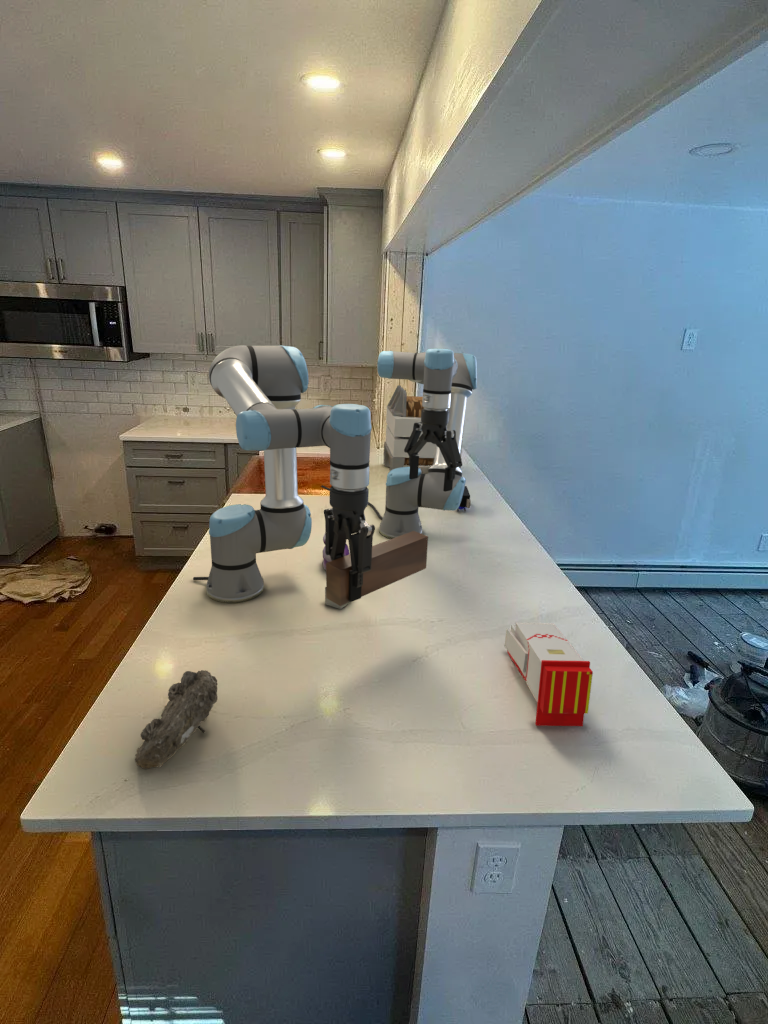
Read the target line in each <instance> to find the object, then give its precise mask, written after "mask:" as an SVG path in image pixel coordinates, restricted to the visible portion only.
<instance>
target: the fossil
mask: <svg viewBox="0 0 768 1024" xmlns="http://www.w3.org/2000/svg"><path fill="white" fill-rule="evenodd" d="M167 698H168V701H167V703H166V705H165V706H164V708H163V709H162V712H161V714H160V718H157V717H156V718H153V719H152V720H151V721H150V722H149V723H147V724H146V725H145V727H144V728H143V729H142V731H141V733H140V738H141V740H142V743H141V744H140V746H139V747H138V748H137V749H136V753H135V755H134V756H135V757H134V762H135V764H136V766H137V767H141V768H142V769H143V770H144V769H145V770H146V769H151V768H156V767H157V768H161V767H162V766H163V765H165V763H166V762H167V761H168V760H169V759H171V758H172V757H173V756H174V755H175V754H177V752H178V751H179V750H180V749H181V748H182V747H184V746H185V744H187V743H188V741H189V739H190V737H191V736H192V735H193V734H195V732H196V731H197V730H199V731H200V732H201V733H202V734H205V733H206V730H205V729H204V728H203V726H201V723H202V722H205V721H206V720H207V718H208V717H209V716H210V712H211V711H212V709H213V707H214V705H215V703H217V702H218V679H217V677H216V676H215V675H212V674H211V672H209V670H206V669H205V670H203V669H202V670H198V671H197V672H195V671H191V670H185V672H183V674H182V677H181V678H180V682H177V683H173V684H172V685H171V686H170V687H169V688H168V693H167Z"/></svg>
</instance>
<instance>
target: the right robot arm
mask: <svg viewBox="0 0 768 1024" xmlns="http://www.w3.org/2000/svg"><path fill="white" fill-rule="evenodd" d="M477 364H478V363H477V357H476V356H475V355H474V354H472V353H464V352H454V351H453V350H452V349H448V348H437V347H435V348H428V349H427V350H425V351H424V352H422V351H421V352H411V351H410V352H409V351H395V350H382V351H380V352H379V355H378V357H377V367H376V368H377V373H378V374H377V375H378V376H379V377H380V378H383V379H387V380H408V381H410V382H412V383H417V384H420V385H423V387H422V397H423V398H422V406H423V407H424V408H423V409H422V411H421V422H417V423H414V426H413V431H412V433H411V436H410V438H409V440H408V442H407V444H406V447H405V449H404V452H405V453H408V455H409V466H404V467H401V468H396V469H393V470H391V471H390V470H389V472H388V473H387V475H386V482H385V504H384V505H385V507H384V508H385V509H384V513H383V515H382V516H381V514H380V512H379V511H378V510H377V508H376V506H375V505H374V504H372V503H370V501H368V505H367V506H369V507H371V508H372V510H373V511H374V513H375V514H376V515H377V517H378V519H379V520H381V522H379V527H378V533H379V534H380V535H381V536H382V537H385V538H387V539H389V540H390V539H393V538H396V537H398V536H401V535H404V534H407V533H409V532H412V531H415V532H418V533H421V534H423V525H422V520H421V518H420V515H419V508H422V509H423V508H424V509H430V510H431V509H433V510H442V511H451V512H452V511H453V512H454V511H457V509H458V507H459V505H460V503H461V499H462V496H463V492H464V487H465V486H466V481H467V479H466V478H465V476H463V471H462V469H461V470H460V469H459V467H461V468H462V467H463V460H461V458H462V456H461V457H460V450H461V442H462V441H463V438H462V433H463V434H464V432H463V425H464V426H465V421H464V420H465V416H466V408H467V401H468V398H469V397H471V396H472V394H473V390H476V389H478V376H477V375H478V369H477V368H478V367H477V366H478V365H477ZM421 432H423V434H422V435H421V436H420V434H421ZM419 436H420V437H419ZM418 439H419V440H418ZM427 442H431V443H433V444H436V448H435V456H434V464H433V465H430V466H429V467H428V469H427V470H428V471H427V473H422V469H421V468H420V466H419V456H416V455H418V453H419V451H420V450H421V449H422V448H423V446H424V445H425V444H426V443H427ZM321 488H322V489H324V490H327V491H328V492H330V487H327V486H325V485H323V484H322V485H321Z"/></svg>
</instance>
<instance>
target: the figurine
mask: <svg viewBox="0 0 768 1024" xmlns="http://www.w3.org/2000/svg"><path fill="white" fill-rule="evenodd" d="M322 542H323V544H324V545H325V533H324V534H323V537H322ZM331 548H332V547H331ZM349 554H350V550H349V545H347V543H346V545H345V551H344V555H345V556H347V555H349ZM330 561H332V560H331V558H330V555H326V553H325V546H324V547H323V549H322V566H323V567H322V568H323V570H325V571H326V563H328V562H330Z"/></svg>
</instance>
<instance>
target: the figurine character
mask: <svg viewBox="0 0 768 1024" xmlns="http://www.w3.org/2000/svg"><path fill="white" fill-rule="evenodd" d="M471 501H472V500H471V494H470V491H469V488H468V486H467V485H465V487H464V492H463V496H462V499H461V503H460V505H459V507H458V509H457V510H456V511H457V512H460V510H463V511H464V513H466V512H467V509H470V508H471V505H472V504H471ZM466 508H467V509H466Z"/></svg>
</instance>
